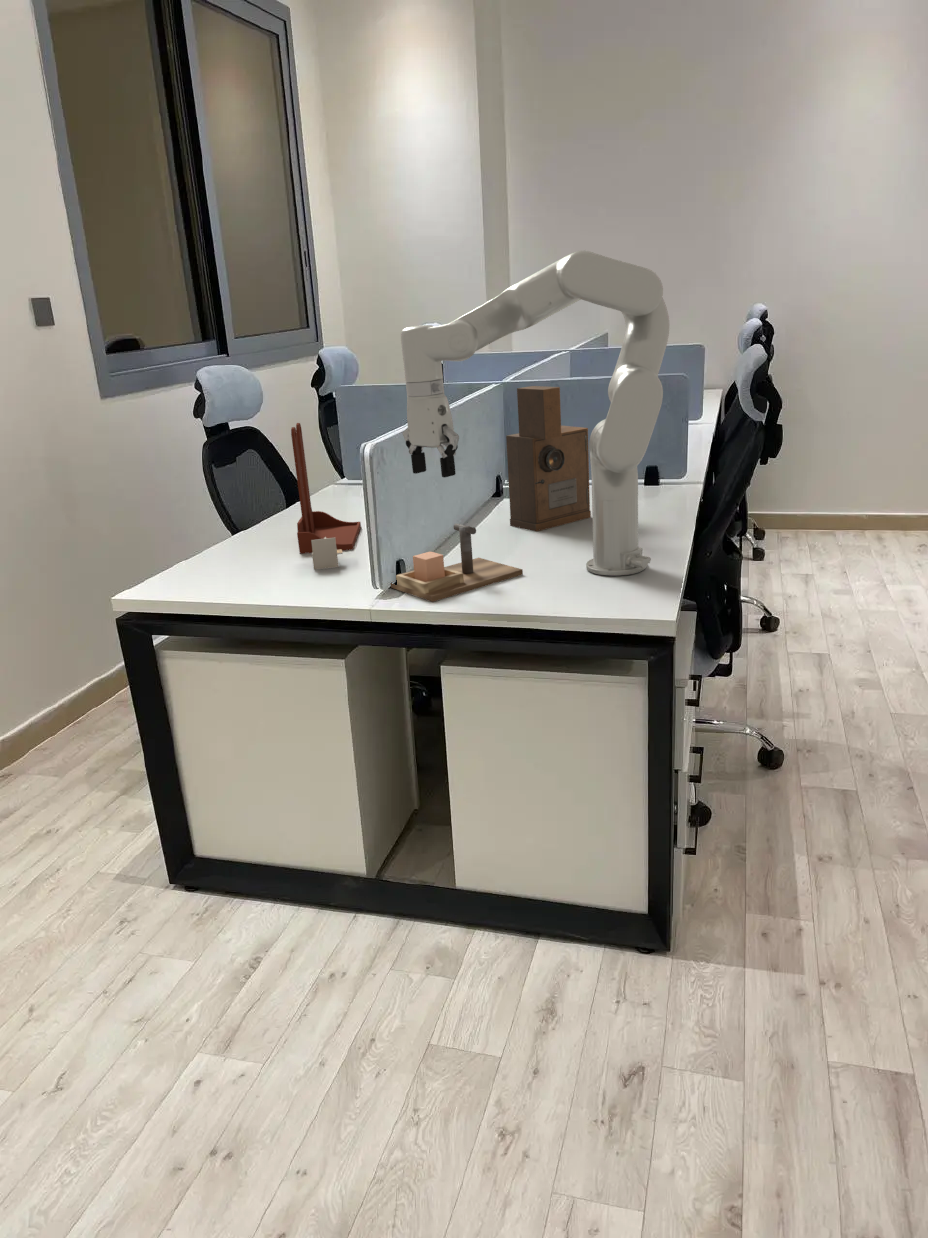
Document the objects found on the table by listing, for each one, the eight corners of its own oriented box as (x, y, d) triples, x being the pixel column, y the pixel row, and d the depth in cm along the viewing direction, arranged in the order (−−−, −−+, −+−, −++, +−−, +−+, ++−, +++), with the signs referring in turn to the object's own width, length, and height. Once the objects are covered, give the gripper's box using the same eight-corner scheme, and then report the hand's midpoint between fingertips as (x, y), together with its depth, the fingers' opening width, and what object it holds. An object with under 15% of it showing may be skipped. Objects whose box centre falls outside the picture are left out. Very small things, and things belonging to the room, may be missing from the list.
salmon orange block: (445, 582, 193) (443, 554, 191) (427, 587, 191) (425, 559, 189) (432, 578, 197) (430, 551, 195) (415, 583, 194) (412, 556, 192)
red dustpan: (352, 550, 230) (338, 427, 220) (299, 554, 230) (283, 431, 220) (361, 527, 253) (348, 415, 243) (312, 531, 253) (298, 419, 243)
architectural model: (314, 567, 218) (310, 537, 216) (343, 564, 219) (339, 533, 217) (314, 571, 215) (310, 540, 213) (344, 568, 216) (340, 537, 213)
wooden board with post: (522, 574, 199) (520, 522, 195) (432, 602, 186) (427, 546, 182) (479, 562, 211) (475, 512, 207) (390, 587, 197) (385, 534, 193)
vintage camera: (546, 534, 231) (540, 389, 220) (510, 525, 242) (502, 387, 230) (601, 519, 242) (598, 381, 230) (564, 512, 252) (559, 379, 241)
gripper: (467, 387, 183) (474, 474, 188) (414, 386, 196) (422, 467, 201) (437, 392, 178) (446, 481, 184) (385, 391, 191) (395, 474, 197)
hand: (434, 474), depth 192 cm, fingers open, 9 cm apart
